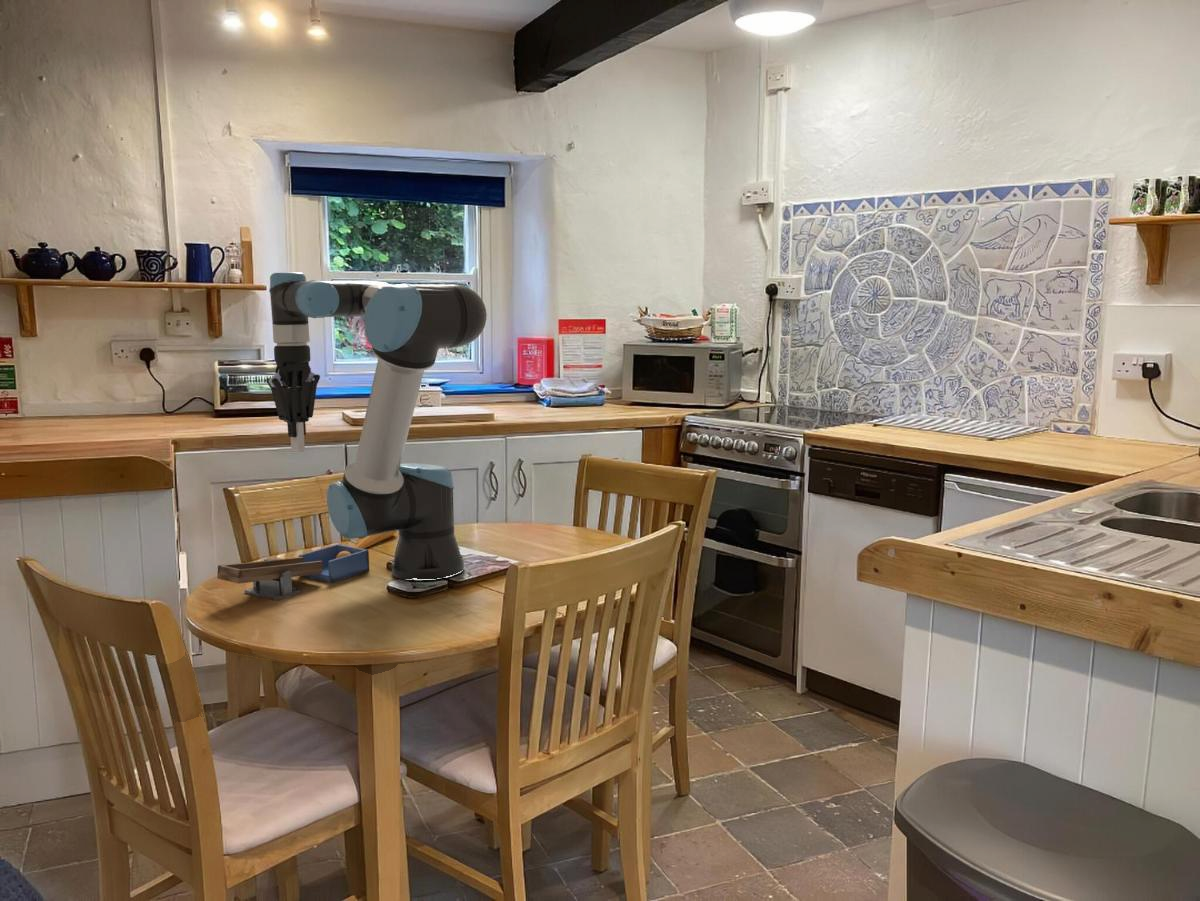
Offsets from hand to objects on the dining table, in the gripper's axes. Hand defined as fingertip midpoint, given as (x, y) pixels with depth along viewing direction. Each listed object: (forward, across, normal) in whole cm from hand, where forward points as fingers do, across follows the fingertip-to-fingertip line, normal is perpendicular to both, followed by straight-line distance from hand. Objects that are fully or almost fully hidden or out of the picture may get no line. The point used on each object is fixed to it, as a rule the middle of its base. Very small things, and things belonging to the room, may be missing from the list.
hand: (298, 451), depth 210 cm
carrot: (+25, -16, +4) cm, 30 cm away
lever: (+21, +21, +12) cm, 32 cm away
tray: (+24, +5, +16) cm, 29 cm away
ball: (+22, +2, +16) cm, 27 cm away
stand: (+24, +21, +16) cm, 36 cm away
